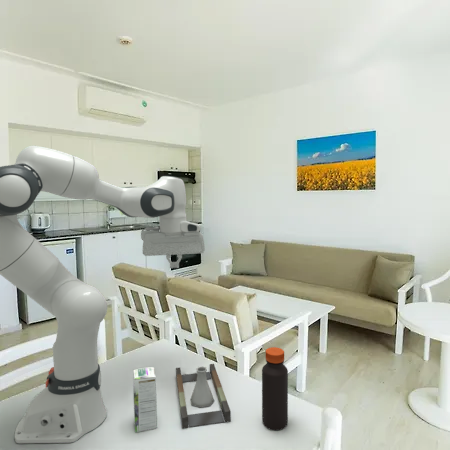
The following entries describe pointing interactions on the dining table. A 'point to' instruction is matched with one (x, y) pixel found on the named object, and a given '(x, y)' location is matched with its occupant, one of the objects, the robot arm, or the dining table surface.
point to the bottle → (274, 390)
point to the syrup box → (145, 399)
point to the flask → (201, 390)
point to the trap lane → (206, 417)
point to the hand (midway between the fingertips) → (174, 267)
